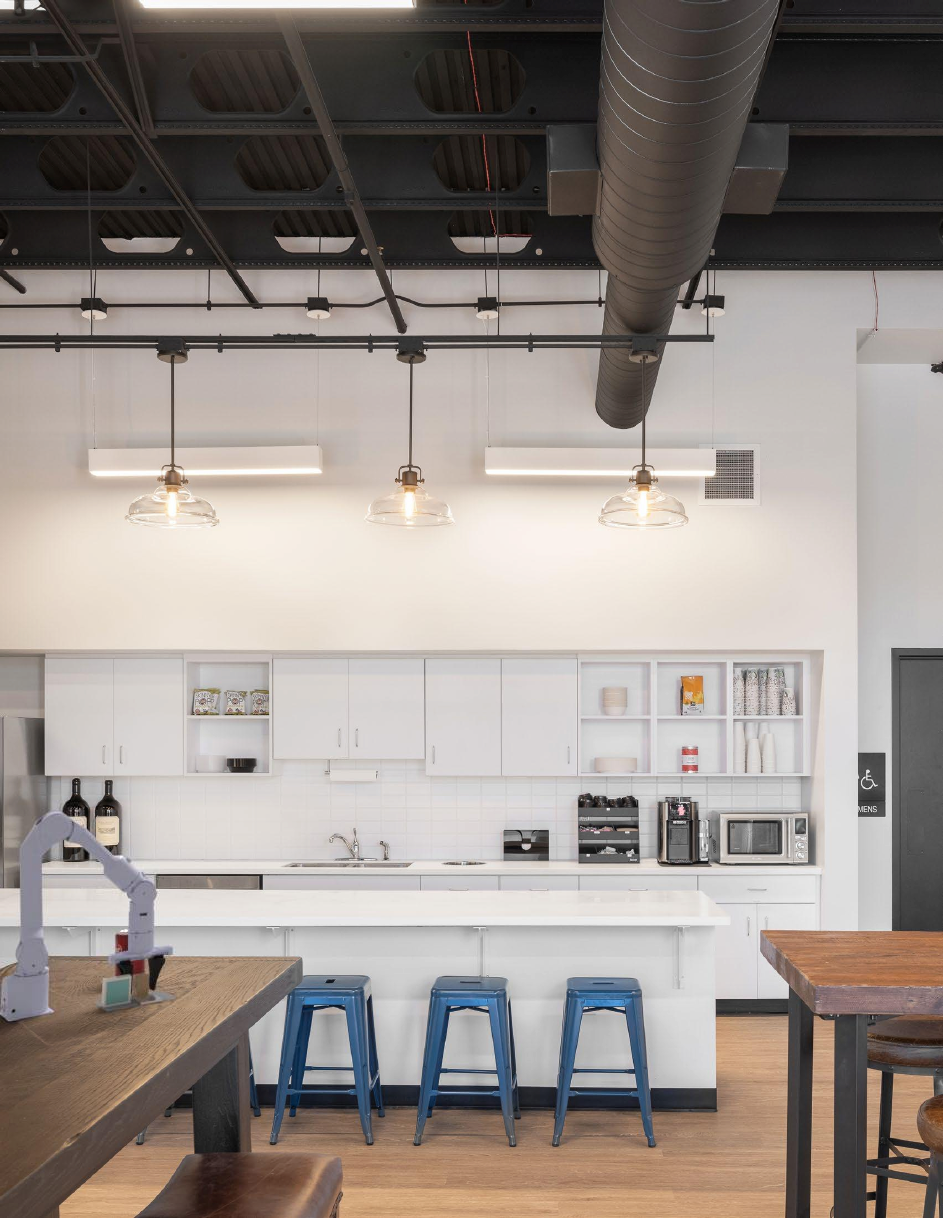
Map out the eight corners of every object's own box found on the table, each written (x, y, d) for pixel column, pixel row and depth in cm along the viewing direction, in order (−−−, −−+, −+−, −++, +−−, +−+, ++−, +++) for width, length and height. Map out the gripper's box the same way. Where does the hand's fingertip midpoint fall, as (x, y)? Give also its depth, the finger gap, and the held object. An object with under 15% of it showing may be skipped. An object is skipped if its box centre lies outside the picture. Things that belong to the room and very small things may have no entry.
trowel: (125, 996, 237) (125, 974, 237) (146, 992, 240) (146, 970, 240) (140, 1005, 229) (140, 982, 229) (162, 1001, 232) (162, 978, 232)
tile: (103, 1007, 227) (105, 980, 228) (101, 1005, 229) (102, 978, 229) (130, 1002, 231) (131, 976, 231) (128, 1000, 232) (129, 974, 233)
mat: (106, 1013, 224) (106, 1011, 224) (92, 1004, 232) (92, 1002, 232) (177, 999, 234) (177, 998, 234) (160, 991, 242) (160, 989, 242)
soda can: (150, 977, 256) (150, 928, 257) (137, 985, 249) (138, 934, 250) (122, 977, 257) (123, 928, 258) (109, 985, 249) (110, 934, 251)
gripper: (115, 938, 230) (114, 1000, 228) (177, 929, 239) (177, 989, 237) (105, 933, 235) (104, 994, 234) (166, 925, 244) (166, 983, 243)
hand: (140, 991), depth 236 cm, fingers open, 5 cm apart
